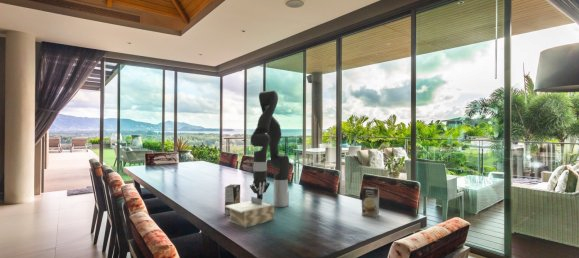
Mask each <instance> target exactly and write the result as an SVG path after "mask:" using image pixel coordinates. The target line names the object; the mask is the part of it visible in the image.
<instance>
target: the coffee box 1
mask: <svg viewBox="0 0 579 258" xmlns="http://www.w3.org/2000/svg"><path fill="white" fill-rule="evenodd" d="M237 203H241V184H229V185H227V186H225V187H224V215H230V209H229V208H227V207H225V206H227V205H232V204H237Z"/></svg>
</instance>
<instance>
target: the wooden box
mask: <svg viewBox="0 0 579 258" xmlns="http://www.w3.org/2000/svg"><path fill="white" fill-rule="evenodd" d="M262 202H263V203H265V202H264V201H262ZM266 203H267V204H270V205H271V206H268V207H264V208H259V209H255V210H251V211H246V212H242V213H240V212H237V211H235V210H232V209H230V216H229V222H231V223H233V224H236V225H238V226H240V227H243V228H248V227H252V226H253V227H254V226H255V225H260V224H264V223H267V222H271V221H274V220H275V216H274V215H275V206H274V205H273V204H271V203H269V202H266Z"/></svg>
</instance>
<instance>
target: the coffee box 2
mask: <svg viewBox="0 0 579 258" xmlns="http://www.w3.org/2000/svg"><path fill="white" fill-rule="evenodd" d="M361 191H362V193H361V194H362V195H361V197H362V198H361V199H362V200H361V216H366V217H373V218H378V217H379V213H380V211H379V210H380V187H377V186H376V187H375V186H368V185H367V186H365V185H364V186H362V188H361Z"/></svg>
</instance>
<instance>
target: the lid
mask: <svg viewBox="0 0 579 258" xmlns="http://www.w3.org/2000/svg"><path fill="white" fill-rule="evenodd" d="M250 198H251V200H247V201H241V202H240V203H237V204H232V205H227V206H225V205H224V208H225V207H227V208H229V209H232V210H235V211H237V212H240V213H242V212H246V211H251V210H255V209H259V208H264V207H268V206H271V205H272V204H271V203H268V202H264V201H263V199H259V198H257V196H256V197H255V196H250ZM263 202H264V203H263ZM267 203H268V204H267ZM270 204H271V205H270Z"/></svg>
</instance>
